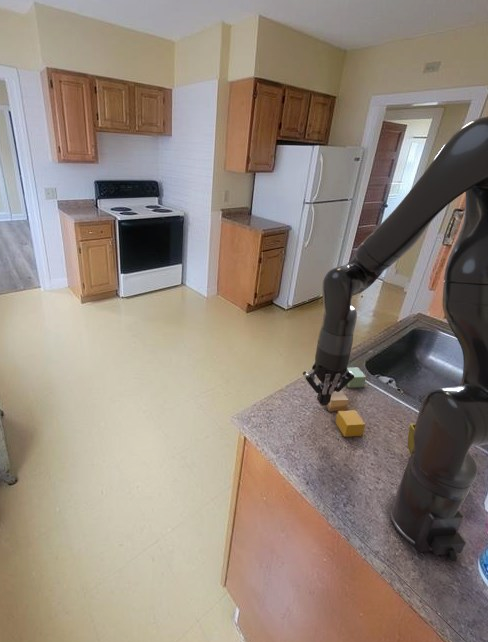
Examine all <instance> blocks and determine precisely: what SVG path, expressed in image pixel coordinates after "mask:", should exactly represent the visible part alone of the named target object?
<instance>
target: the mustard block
mask: <svg viewBox="0 0 488 642" xmlns="http://www.w3.org/2000/svg"><path fill="white" fill-rule="evenodd" d="M335 424H336V426H337V428H338V429H339V431H340V432H341V434H342V436H343V437H345V438H346V437H362V436H363V434H364V431H365V427H366V423H365V422H364V420H363V419H362V417H361V416H360V415H359V414H358V412H357V411H356V410H355V409H353V410H352V409H351V410H346V411H337V414H336V418H335Z"/></svg>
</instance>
